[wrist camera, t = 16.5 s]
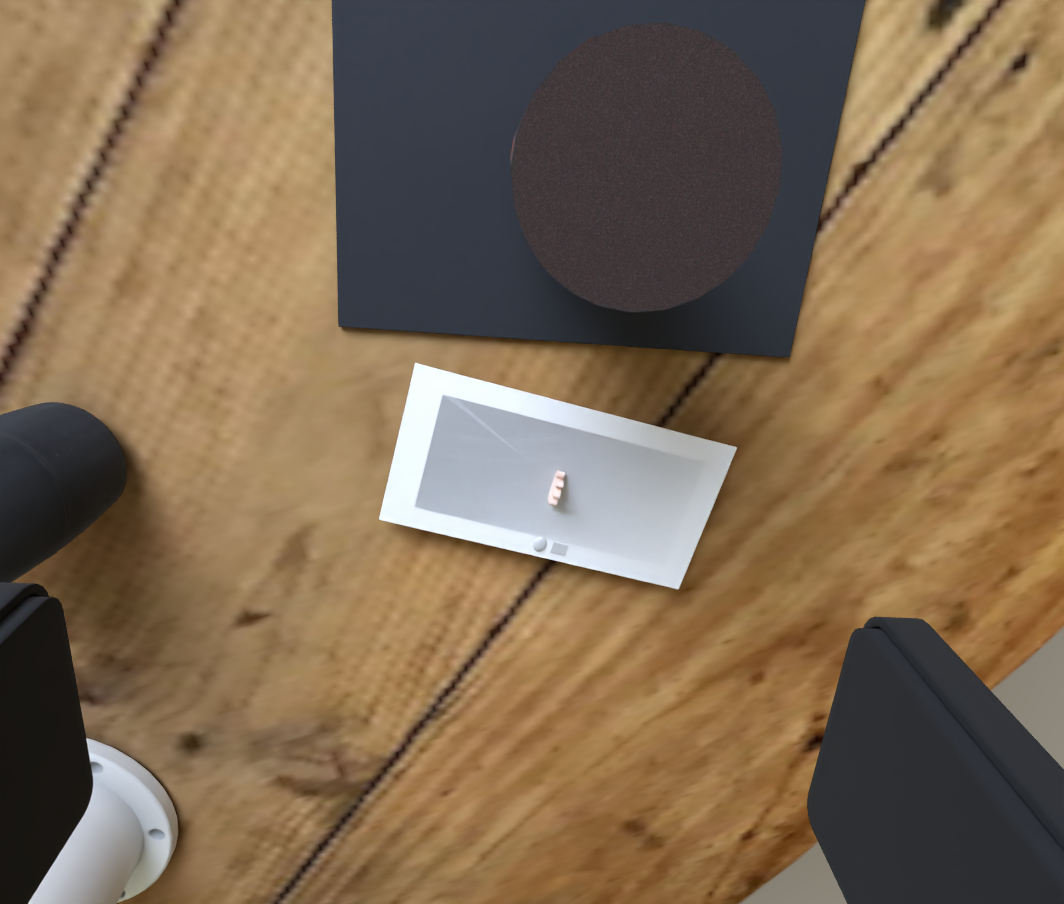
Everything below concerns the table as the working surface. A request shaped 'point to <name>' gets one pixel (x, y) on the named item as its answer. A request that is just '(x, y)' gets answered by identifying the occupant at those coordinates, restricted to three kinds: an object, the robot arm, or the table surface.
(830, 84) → the mouse mat
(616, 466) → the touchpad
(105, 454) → the mallet
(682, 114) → the deodorant
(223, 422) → the table surface
